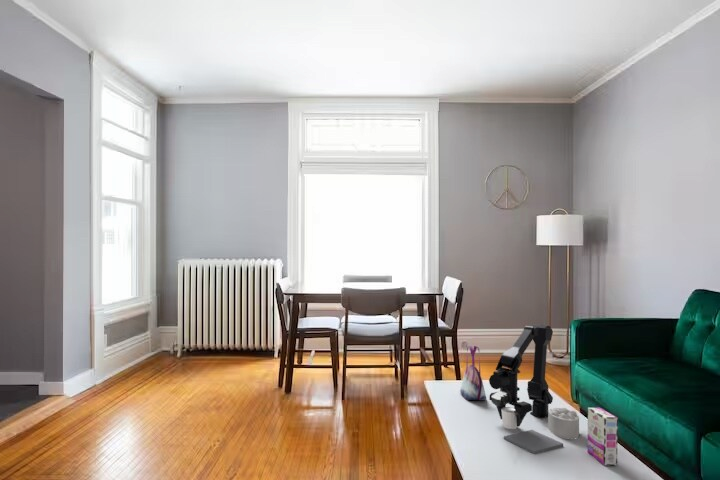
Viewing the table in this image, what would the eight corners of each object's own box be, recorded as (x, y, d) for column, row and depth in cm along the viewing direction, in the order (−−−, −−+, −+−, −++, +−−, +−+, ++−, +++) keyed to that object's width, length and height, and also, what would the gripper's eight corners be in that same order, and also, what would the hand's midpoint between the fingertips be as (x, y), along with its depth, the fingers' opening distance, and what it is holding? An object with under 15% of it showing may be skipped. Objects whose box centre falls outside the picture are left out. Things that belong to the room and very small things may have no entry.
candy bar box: (618, 466, 164) (618, 417, 165) (604, 466, 164) (604, 417, 164) (599, 451, 176) (600, 406, 176) (586, 452, 175) (586, 406, 175)
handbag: (456, 390, 248) (456, 341, 248) (475, 390, 249) (475, 341, 249) (470, 404, 227) (470, 351, 227) (490, 403, 228) (491, 350, 228)
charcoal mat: (532, 432, 194) (532, 429, 194) (563, 446, 180) (563, 443, 180) (503, 438, 187) (503, 436, 187) (534, 453, 173) (534, 451, 173)
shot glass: (519, 430, 195) (519, 413, 195) (501, 428, 197) (502, 411, 197) (517, 424, 202) (517, 407, 202) (500, 422, 204) (500, 406, 204)
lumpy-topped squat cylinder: (570, 426, 200) (570, 405, 200) (585, 439, 187) (585, 417, 187) (545, 426, 200) (545, 405, 200) (558, 439, 187) (558, 416, 187)
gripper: (479, 381, 204) (479, 418, 204) (512, 393, 188) (512, 434, 188) (499, 378, 209) (499, 414, 209) (533, 390, 193) (532, 429, 193)
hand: (509, 422), depth 200 cm, fingers open, 9 cm apart
